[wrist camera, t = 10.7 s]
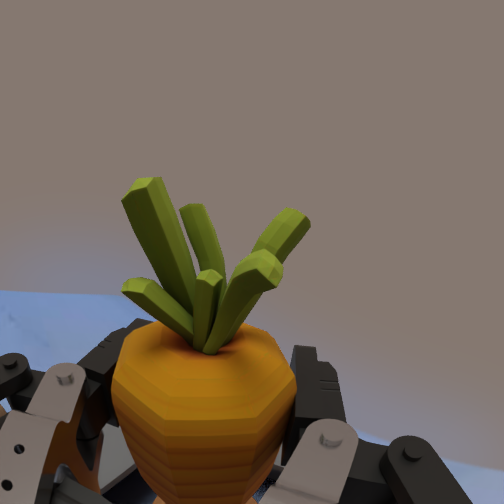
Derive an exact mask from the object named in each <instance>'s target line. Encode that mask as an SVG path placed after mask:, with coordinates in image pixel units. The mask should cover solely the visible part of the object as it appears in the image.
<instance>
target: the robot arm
mask: <svg viewBox="0 0 504 504" xmlns="http://www.w3.org/2000/svg"><path fill="white" fill-rule="evenodd" d="M151 323H153V322H152V321H148V320H144V319H139V318H137V319H135V320H134V321H133V322H132V323H131V324H130V325H129V326H128V327H127V328H121V329H119V330H116V331H114V332H112V333H110V334H109V335H108V336H107V337H106V338H105V339H104V341H101V342H100V343H99V344H98V346H96V347H95V348H94V349H92V350H91V351H90V352H89V353H88V354H87V355H86V356H85V357H84V358H82V359H81V360H80V361H79V362H78V363H77V364H73V363H60V364H56V365H54V366H52V367H51V368H49V369H48V370H47V372H41V371H36V370H31V369H30V366H29V363H28V360H27V358H26V357H25V356H24V355H22V354H19V353H8V354H5V355H3V356H1V357H0V401H1V400H2V399H4V398H7V401H8V403H9V405H10V407H11V409H12V411H10V412H8V413H7V414H5V415H3V416H2V417H0V504H112V503H111V502H109V501H108V500H107V499H105V498H104V497H103V496H101V491H100V487H99V483H98V473H99V466H100V459H101V453H102V446H103V441H104V431H103V427H104V426H105V425H106V423H107V424H110V425H112V426H115V427H117V428H118V427H119V426H120V425H119V422H118V419H117V415H116V412H115V409H114V406H113V403H112V395H111V386H112V379H113V374H114V371H115V368H116V364H117V361H118V358H119V355H120V351H121V348H122V345H123V342H124V339H125V337H127V336H128V335H129V334H130V333H131V332H132V331H133V330H135V329H138V328H141V327H143V326H146V325H148V324H151ZM290 368H291V369H292V371H293V373H294V375H295V379H296V385H297V392H296V394H295V399H294V403H293V407H292V411H291V415H290V418H289V422H288V425H287V429H286V432H285V436H284V439H283V442H282V453H281V466H285V468H284V470H283V471H282V473H281V475H280V476H279V478H278V480H277V481H276V482H275V484H272V485H271V486H270V487H269V488H268V490H267V491H266V493H265V494H264V496H263V497H262V498H261V500H260V501H259V503H258V504H473V503H472V502H471V500H470V499H469V498H468V496H467V495H466V493H465V492H464V490H463V489H462V488H461V486H460V485H459V483H458V482H457V481H456V479H455V478H454V476H453V475H452V474H451V472H450V471H449V469H448V468H447V467H446V465H445V464H444V463H443V461H442V460H441V458H440V457H439V456H438V454H437V453H436V452H435V450H434V449H433V448H432V446H431V445H430V444H429V443H428V442H427V441H425V440H424V439H421V438H419V437H416V436H402V437H399V438H397V439H395V440H393V441H392V442H391V444H390V445H389V446H385V445H379V444H375V443H370V442H366V441H364V440H362V439H360V438H358V435H357V433H356V431H355V430H354V429H353V428H352V427H351V426H350V425H349V424H347V422H346V417H345V412H344V407H343V401H342V396H341V392H340V386H339V383H338V377H337V372H336V370H335V369H334V368H333V367H332V365H331V364H330V363H329V362H322V361H318V360H317V353H316V347H310V346H299V345H294V349H293V354H292V359H291V364H290Z"/></svg>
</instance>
